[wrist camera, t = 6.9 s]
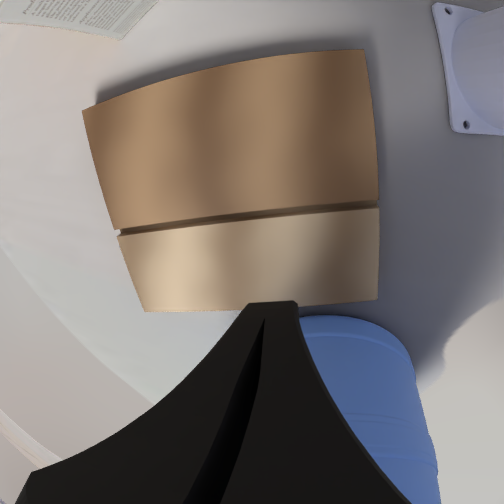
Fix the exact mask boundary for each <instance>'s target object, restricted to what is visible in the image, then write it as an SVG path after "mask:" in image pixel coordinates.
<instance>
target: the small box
mask: <svg viewBox="0 0 504 504" xmlns="http://www.w3.org/2000/svg"><path fill="white" fill-rule="evenodd" d="M158 1H159V0H0V23H7V24H24V25H33V26H42V27H51V28H60V29H66V30H72V31H78V32H83V33H88V34H93V35H99V36H104V37H108V38H112V39H116V40H121V39H122V38H123V37H124V36H125V35H126V33H127V32H128V31H129V30H130V29H131V28H132V27H133V26H134V25H135V24H136V23H137V22H138V21H139V20H140V19H141V17H142V16H143V15H144V14H145V13H146V12H147V11H148V10H149V9H150V8H151V7H152V6H153V5H154V4H155V3H156V2H158Z"/></svg>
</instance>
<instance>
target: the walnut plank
mask: <svg viewBox="0 0 504 504" xmlns="http://www.w3.org/2000/svg"><path fill="white" fill-rule="evenodd" d="M82 114H83V119H84V124H85V128H86V132H87V137H88V141H89V145H90V149H91V153H92V157H93V161H94V165H95V168H96V172H97V175H98V179H99V183H100V186H101V189H102V193H103V196H104V199H105V203H106V206H107V209H108V212H109V215H110V218H111V221H112V224H113V227H114V230H116V229H123V228H129V227H136V226H143V225H149V224H156V223H163V222H171V221H178V220H185V219H193V218H201V217H208V216H216V215H225V214H233V213H242V212H250V211H259V210H268V209H278V208H288V207H298V206H308V205H319V204H330V203H342V202H354V201H367V200H379V184H378V164H377V149H376V136H375V126H374V116H373V107H372V99H371V91H370V84H369V77H368V71H367V65H366V59H365V53H364V49H356V50H332V51H317V52H306V53H296V54H287V55H279V56H272V57H265V58H259V59H253V60H247V61H242V62H236V63H231V64H227V65H222V66H217V67H213V68H208V69H204V70H200V71H196V72H192V73H188V74H185V75H181V76H177V77H174V78H170V79H167V80H164V81H160V82H157V83H154V84H151V85H148V86H145V87H142V88H139V89H136V90H133V91H130V92H127V93H125V94H122V95H119V96H117V97H114V98H111V99H109V100H106V101H104V102H101V103H99V104H96V105H94V106H92V107H89V108H87V109H85V110H82Z"/></svg>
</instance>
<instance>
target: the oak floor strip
mask: <svg viewBox="0 0 504 504" xmlns="http://www.w3.org/2000/svg"><path fill="white" fill-rule="evenodd" d="M120 231H121V234H119V235H118V236H117V239H118V242H119V245H120V248H121V251H122V254H123V257H124V260H125V262H126V265H127V268H128V271H129V273H130V276H131V279H132V281H133V284H134V287H135V289H136V292H137V294H138V297H139V299H140V302H141V304H142V307H143V309H144V312H192V311H226V310H243V309H244V308H245V306H246V305H247V304H248V303H255V302H273V301H289V300H294V301H295V302H296V303H298V307H301V306H315V305H328V304H340V303H351V302H361V301H371V300H377V295H378V275H379V207H378V206H377V200H367V201H354V202H342V203H330V204H319V205H308V206H298V207H288V208H278V209H268V210H259V211H250V212H242V213H233V214H225V215H216V216H208V217H201V218H193V219H185V220H178V221H171V222H163V223H156V224H149V225H143V226H136V227H129V228H123V229H120Z"/></svg>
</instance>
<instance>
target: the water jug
mask: <svg viewBox="0 0 504 504" xmlns="http://www.w3.org/2000/svg"><path fill="white" fill-rule="evenodd" d="M299 321H300V325H301V329H302V332H303V335H304V338H305V341H306V343H307V346H308V348H309V351H310V353H311V356H312V358H313V361H314V363H315V365H316V367H317V369H318V371H319V373H320V376H321V378H322V380H323V382H324V384H325V385H326V387H327V389H328V391H329V393H330V395H331V397H332V398H333V400H334V402H335V403H336V405H337V407H338V408H339V410H340V412H341V414H342V415H343V417H344V418H345V420H346V421H347V423H348V424H349V426H350V427H351V429H352V431H353V432H354V434H355V435H356V436H357V438H358V439H359V440H360V442H361V443H362V444H363V446H364V447H365V448H366V450H367V451H368V452H369V454H370V455H371V456H372V458H373V459H374V461H375V462H376V463H377V465H378V466H379V467H380V468H381V470H382V471H383V472H384V473H385V474H386V475H387V477H388V478H389V479H390V480H391V481H392V483H393V484H394V485H395V486H396V487H397V488H398V490H399V491H400V492H401V493H402V494H403V495H404V496H405V497H406V498H407V499H408V500H409V501H410V502H411V503H412V504H441V499H440V492H439V485H438V480H437V475H438V468H437V460H436V455H435V450H434V446H433V443H432V440H431V437H430V435H429V433H428V429H427V425H426V420H425V416H424V412H423V408H422V404H421V400H420V397H419V393H418V389H417V386H416V376H415V372H414V368H413V365H412V362H411V359H410V356H409V354H408V352H407V350H406V348H405V347H404V345H403V344H402V343H401V342H400V341H399V340H398V339H397V338H396V337H395V336H394V335H393V334H391V333H390V332H389V331H387V330H386V329H384V328H382V327H380V326H378V325H376V324H373V323H371V322H368V321H365V320H361V319H357V318H352V317H346V316H336V315H318V316H307V317H301V318H299Z"/></svg>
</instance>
